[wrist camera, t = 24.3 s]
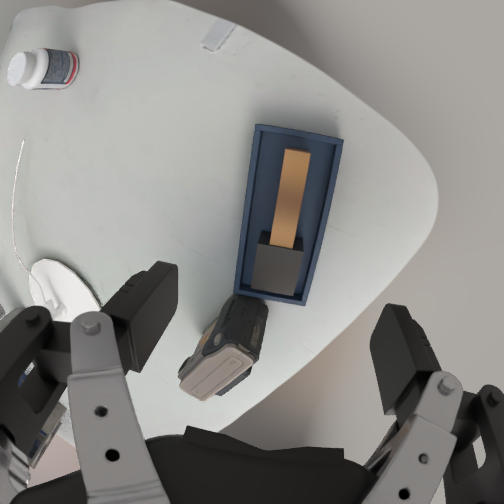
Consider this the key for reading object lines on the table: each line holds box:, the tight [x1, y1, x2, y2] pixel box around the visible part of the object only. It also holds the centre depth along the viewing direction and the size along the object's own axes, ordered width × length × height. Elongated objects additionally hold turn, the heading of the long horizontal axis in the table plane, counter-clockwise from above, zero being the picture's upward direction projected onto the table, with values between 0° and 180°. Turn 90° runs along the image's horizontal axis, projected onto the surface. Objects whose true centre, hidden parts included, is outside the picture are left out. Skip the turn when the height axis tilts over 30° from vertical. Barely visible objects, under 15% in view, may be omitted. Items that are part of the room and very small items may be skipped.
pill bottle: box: [7, 48, 78, 90], centre depth 21 cm, size 5×5×9 cm
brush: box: [251, 147, 311, 296], centre depth 28 cm, size 14×4×4 cm, turn 172°
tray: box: [233, 124, 344, 306], centre depth 29 cm, size 18×8×2 cm, turn 172°
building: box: [18, 373, 67, 469], centre depth 54 cm, size 23×24×23 cm
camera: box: [178, 293, 268, 402], centre depth 32 cm, size 11×6×10 cm, turn 142°
